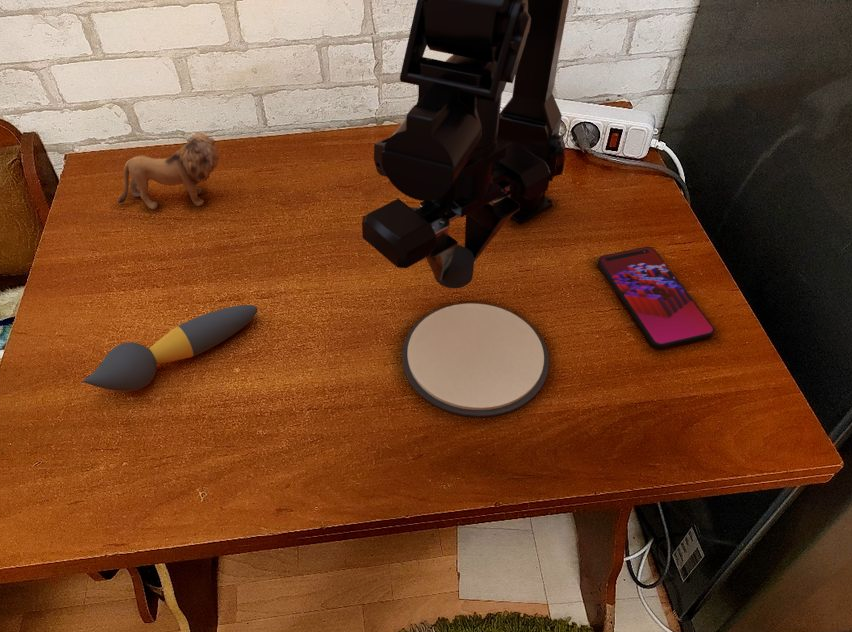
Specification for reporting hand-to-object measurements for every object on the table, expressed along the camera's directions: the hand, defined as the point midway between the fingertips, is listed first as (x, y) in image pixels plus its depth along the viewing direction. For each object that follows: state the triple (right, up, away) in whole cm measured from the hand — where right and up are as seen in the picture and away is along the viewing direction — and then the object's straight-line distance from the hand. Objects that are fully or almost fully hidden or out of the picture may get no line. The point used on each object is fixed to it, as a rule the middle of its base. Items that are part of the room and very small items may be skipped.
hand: (454, 268), depth 70 cm
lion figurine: (-36, +13, +24) cm, 46 cm away
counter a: (0, -1, +1) cm, 1 cm away
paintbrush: (-30, -9, +6) cm, 32 cm away
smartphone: (+24, -2, +11) cm, 26 cm away
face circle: (+3, -9, +5) cm, 11 cm away
